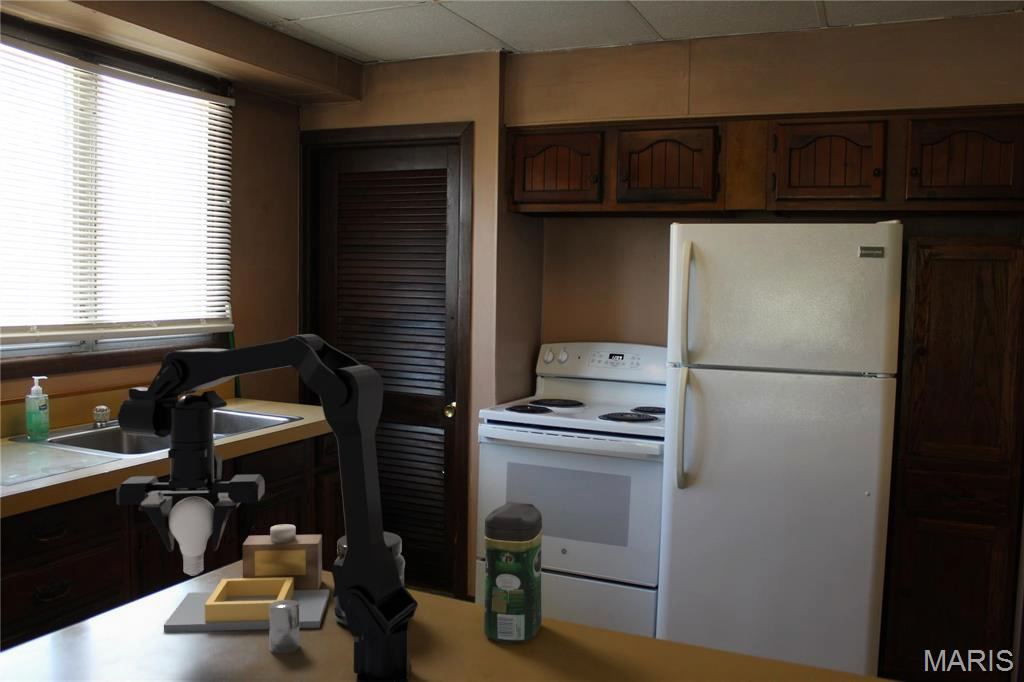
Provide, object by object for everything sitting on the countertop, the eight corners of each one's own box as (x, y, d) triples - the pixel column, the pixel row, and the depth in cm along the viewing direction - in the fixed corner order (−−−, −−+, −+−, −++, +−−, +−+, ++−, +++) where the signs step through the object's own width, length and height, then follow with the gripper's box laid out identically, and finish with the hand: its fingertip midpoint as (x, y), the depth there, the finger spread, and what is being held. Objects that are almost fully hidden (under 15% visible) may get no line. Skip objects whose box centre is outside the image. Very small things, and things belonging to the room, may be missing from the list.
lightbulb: (201, 584, 116) (200, 504, 115) (159, 580, 117) (158, 501, 117) (226, 569, 122) (225, 493, 122) (185, 566, 124) (184, 490, 123)
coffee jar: (494, 616, 130) (496, 496, 129) (545, 622, 128) (547, 500, 127) (476, 642, 121) (477, 513, 120) (531, 649, 119) (533, 517, 118)
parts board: (329, 595, 138) (329, 574, 138) (319, 627, 125) (319, 604, 125) (188, 598, 136) (188, 577, 136) (163, 631, 123) (163, 608, 123)
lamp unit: (321, 581, 145) (321, 522, 144) (317, 592, 139) (317, 532, 139) (249, 582, 144) (248, 523, 143) (242, 594, 138) (241, 533, 138)
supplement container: (387, 635, 123) (388, 553, 122) (321, 626, 126) (321, 546, 125) (414, 608, 133) (415, 533, 132) (352, 601, 136) (352, 527, 135)
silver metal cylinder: (301, 641, 120) (301, 599, 120) (296, 653, 117) (296, 610, 116) (272, 641, 120) (271, 600, 120) (266, 654, 116) (266, 610, 116)
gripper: (270, 429, 128) (271, 532, 129) (140, 430, 126) (142, 535, 127) (256, 442, 117) (258, 555, 118) (113, 444, 115) (116, 558, 116)
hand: (193, 550), depth 120 cm, fingers closed on lightbulb, 6 cm apart
